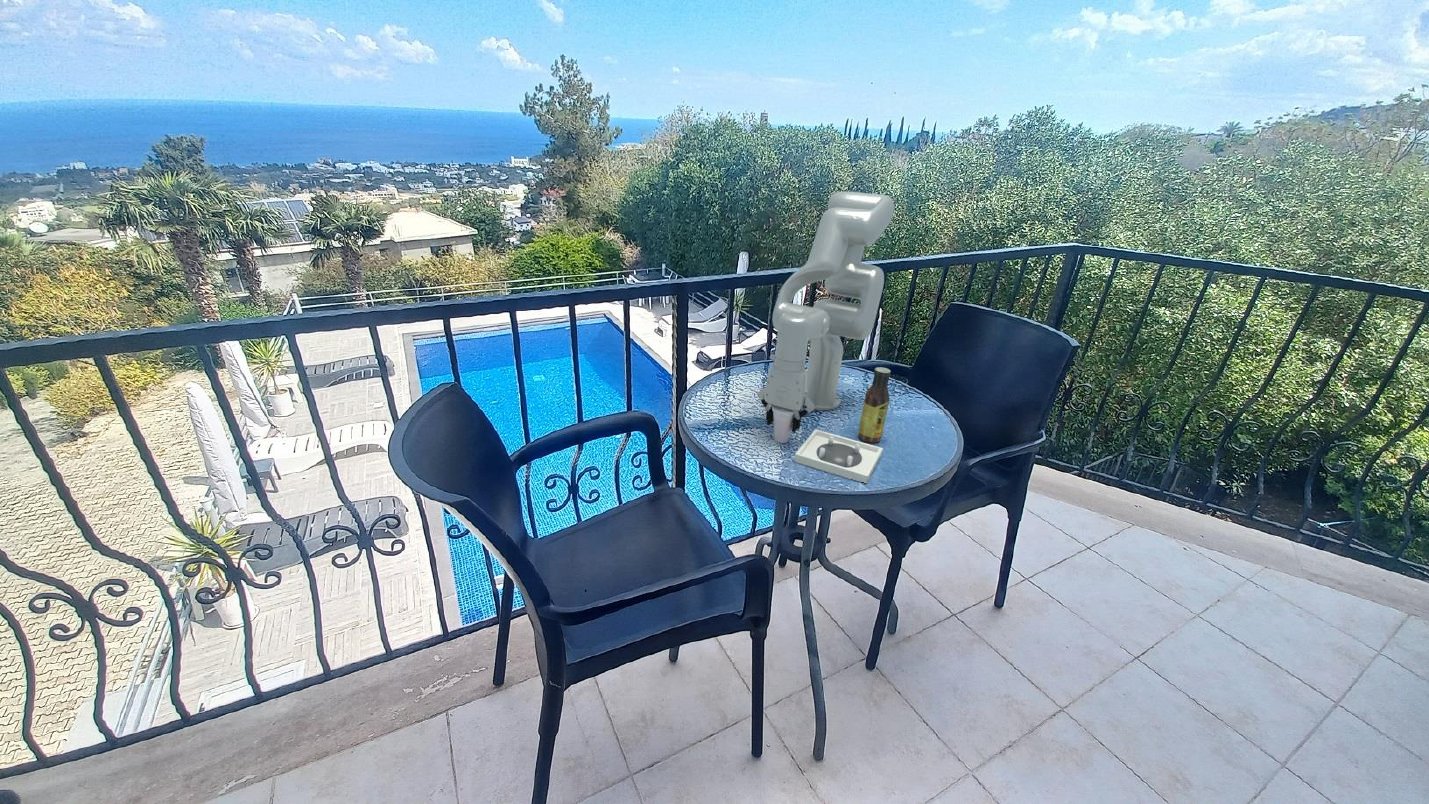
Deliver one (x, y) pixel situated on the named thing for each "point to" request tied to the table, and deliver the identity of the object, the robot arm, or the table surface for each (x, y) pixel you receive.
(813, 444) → the pin tray
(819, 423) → the table surface
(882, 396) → the sauce bottle
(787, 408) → the robot arm
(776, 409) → the smoothie
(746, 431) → the table surface
